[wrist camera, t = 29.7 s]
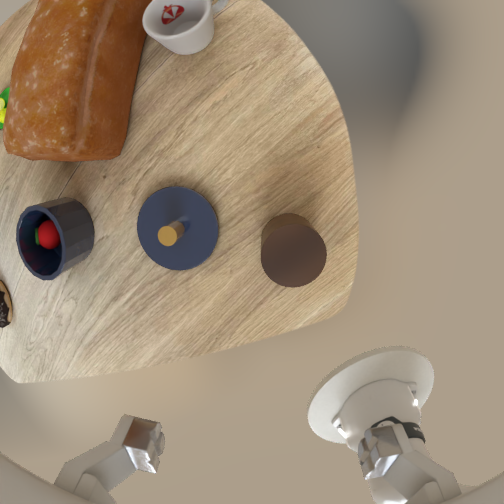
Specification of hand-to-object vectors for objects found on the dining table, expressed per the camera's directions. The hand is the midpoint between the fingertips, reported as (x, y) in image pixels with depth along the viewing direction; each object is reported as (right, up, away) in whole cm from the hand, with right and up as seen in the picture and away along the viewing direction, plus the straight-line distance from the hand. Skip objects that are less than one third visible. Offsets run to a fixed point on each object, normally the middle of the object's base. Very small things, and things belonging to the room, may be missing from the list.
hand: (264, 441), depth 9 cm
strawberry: (-29, +10, +27) cm, 41 cm away
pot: (-29, +10, +28) cm, 42 cm away
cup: (-7, +37, +20) cm, 42 cm away
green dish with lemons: (-45, +33, +22) cm, 60 cm away
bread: (-22, +33, +22) cm, 45 cm away
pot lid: (-10, +10, +27) cm, 31 cm away
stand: (+4, +9, +28) cm, 29 cm away
